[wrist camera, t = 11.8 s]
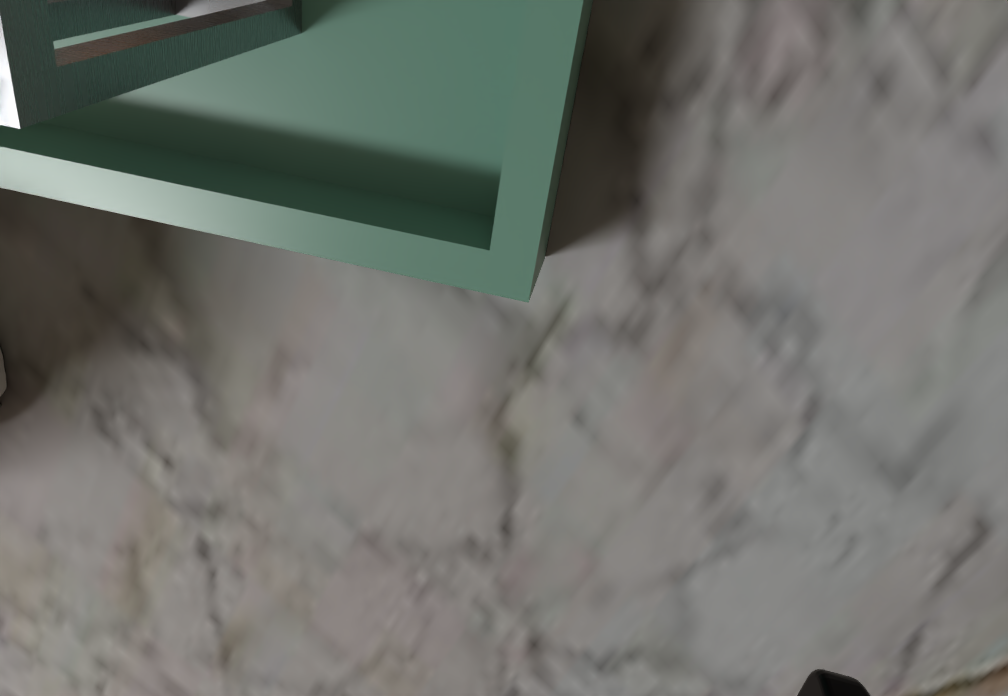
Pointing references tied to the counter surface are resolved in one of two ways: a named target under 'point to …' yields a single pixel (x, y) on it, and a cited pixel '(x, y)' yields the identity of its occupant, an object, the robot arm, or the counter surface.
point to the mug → (2, 375)
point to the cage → (121, 47)
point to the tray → (344, 139)
